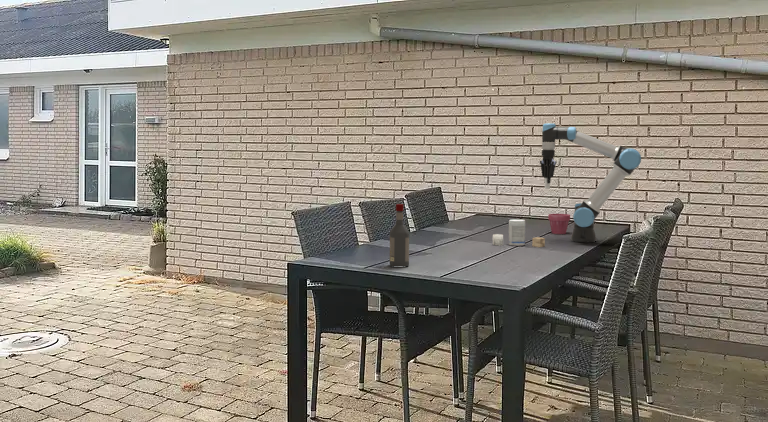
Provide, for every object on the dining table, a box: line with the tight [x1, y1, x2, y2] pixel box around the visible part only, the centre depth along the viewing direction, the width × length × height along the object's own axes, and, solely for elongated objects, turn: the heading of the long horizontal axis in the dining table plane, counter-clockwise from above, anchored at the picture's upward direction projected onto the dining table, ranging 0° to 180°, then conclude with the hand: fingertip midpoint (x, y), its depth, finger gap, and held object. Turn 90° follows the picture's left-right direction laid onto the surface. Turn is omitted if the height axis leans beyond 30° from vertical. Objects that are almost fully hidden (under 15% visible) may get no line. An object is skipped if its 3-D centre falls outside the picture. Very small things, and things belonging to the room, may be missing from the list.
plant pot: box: [547, 213, 571, 235], centre depth 474 cm, size 14×14×13 cm
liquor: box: [389, 203, 410, 267], centre depth 345 cm, size 9×9×30 cm
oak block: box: [531, 236, 546, 248], centre depth 415 cm, size 5×5×5 cm
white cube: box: [492, 233, 504, 247], centre depth 420 cm, size 6×6×6 cm
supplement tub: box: [508, 219, 526, 247], centre depth 420 cm, size 10×10×15 cm
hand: (547, 188), depth 429 cm, fingers closed
